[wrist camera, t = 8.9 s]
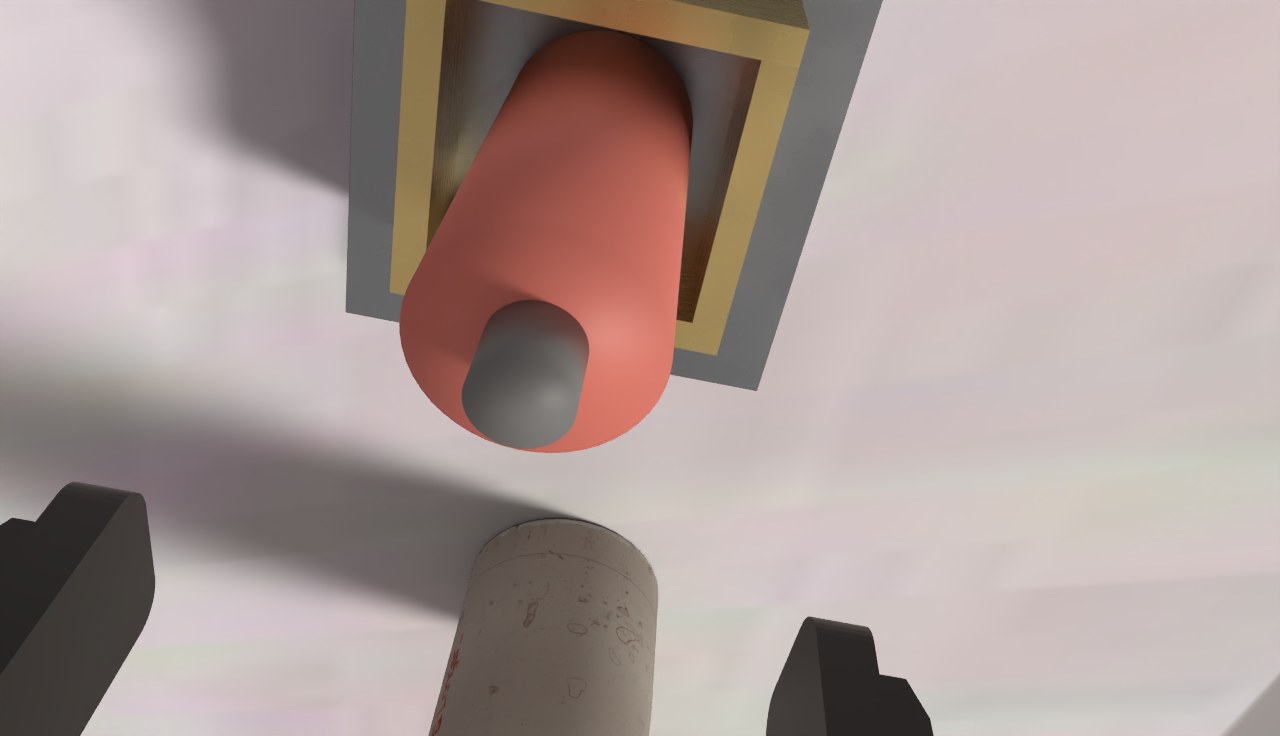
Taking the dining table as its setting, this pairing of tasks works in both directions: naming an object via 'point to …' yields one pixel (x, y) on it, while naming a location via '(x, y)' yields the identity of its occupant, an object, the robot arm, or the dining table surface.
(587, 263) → the oil can
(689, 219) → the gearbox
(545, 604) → the thermos bottle
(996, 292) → the dining table surface
